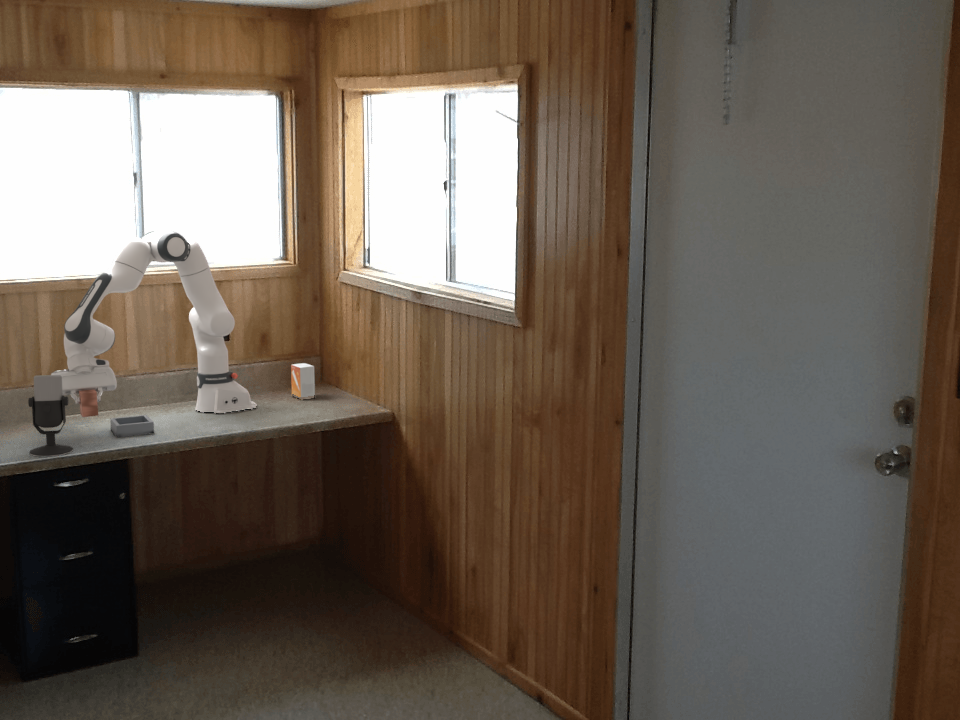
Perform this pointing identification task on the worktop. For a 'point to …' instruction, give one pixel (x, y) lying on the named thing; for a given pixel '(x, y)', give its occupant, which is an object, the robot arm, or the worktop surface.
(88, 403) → the red block
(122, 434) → the bin
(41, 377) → the microphone
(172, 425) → the worktop surface
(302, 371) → the small box
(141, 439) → the worktop surface
